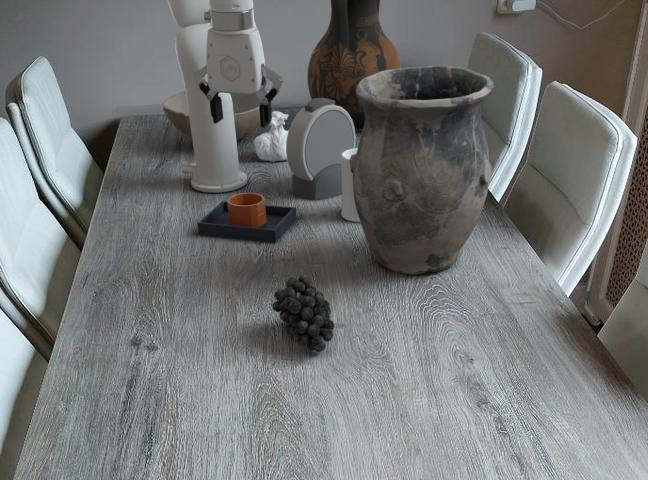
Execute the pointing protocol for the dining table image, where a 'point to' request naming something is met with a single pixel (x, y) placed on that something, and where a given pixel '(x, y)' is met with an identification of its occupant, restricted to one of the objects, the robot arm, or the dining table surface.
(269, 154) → the bust
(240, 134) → the bowl
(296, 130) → the alarm clock
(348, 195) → the mug
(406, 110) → the clay pot
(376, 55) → the vase
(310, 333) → the fruit
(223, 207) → the tray
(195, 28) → the robot arm
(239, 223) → the small bowl
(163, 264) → the dining table surface
